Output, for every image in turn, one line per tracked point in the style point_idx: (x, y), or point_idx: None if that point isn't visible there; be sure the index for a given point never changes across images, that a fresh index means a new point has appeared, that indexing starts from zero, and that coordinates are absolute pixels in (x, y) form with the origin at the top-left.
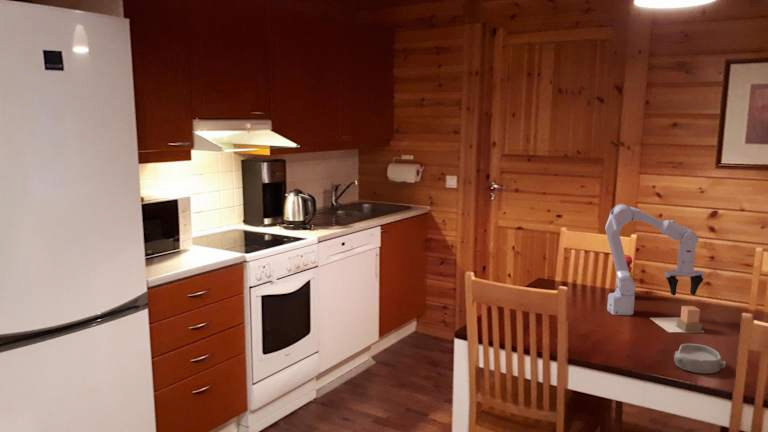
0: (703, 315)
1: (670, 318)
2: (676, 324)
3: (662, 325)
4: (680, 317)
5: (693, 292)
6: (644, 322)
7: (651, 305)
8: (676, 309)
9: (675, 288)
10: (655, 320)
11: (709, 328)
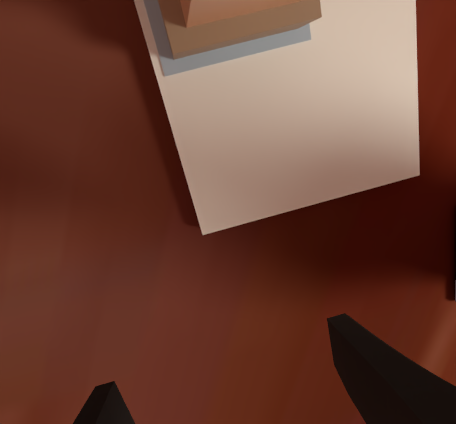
0: (49, 341)
1: (288, 193)
2: (286, 68)
3: (396, 20)
4: (215, 230)
5: (108, 412)
6: (451, 124)
7: (303, 412)
8: (189, 393)
9: (396, 373)
10: (401, 129)
11: (44, 87)
